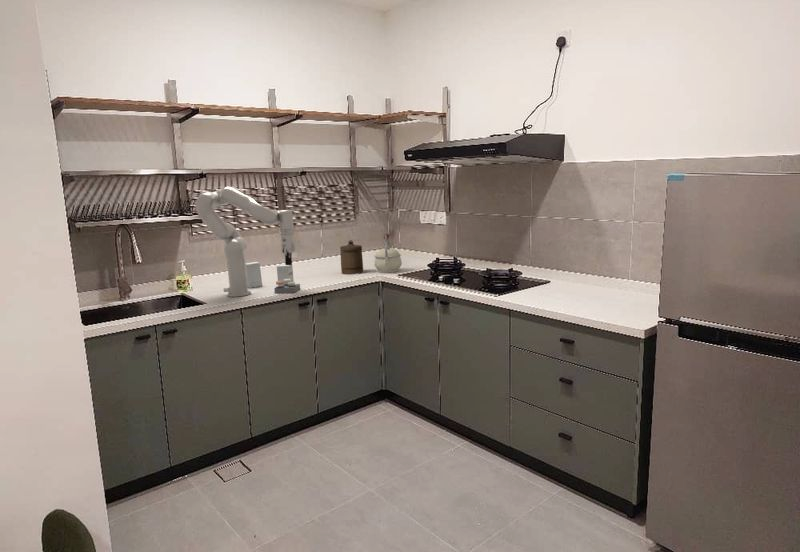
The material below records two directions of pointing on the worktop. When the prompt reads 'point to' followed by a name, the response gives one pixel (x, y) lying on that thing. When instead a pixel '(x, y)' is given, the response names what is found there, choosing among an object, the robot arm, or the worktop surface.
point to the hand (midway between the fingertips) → (288, 264)
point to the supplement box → (285, 273)
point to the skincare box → (253, 274)
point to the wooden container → (351, 258)
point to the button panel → (287, 288)
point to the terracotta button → (279, 282)
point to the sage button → (291, 283)
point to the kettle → (387, 259)
